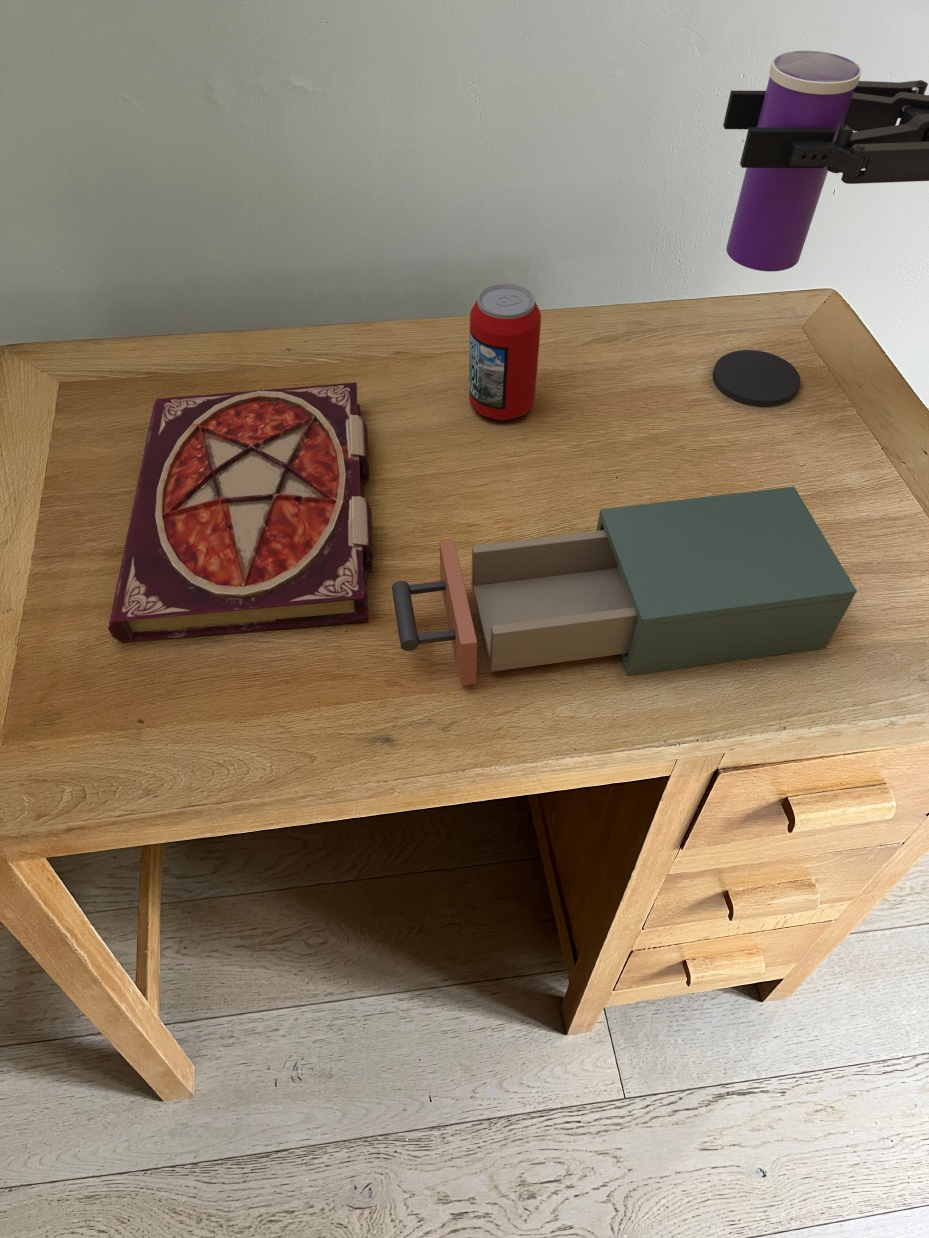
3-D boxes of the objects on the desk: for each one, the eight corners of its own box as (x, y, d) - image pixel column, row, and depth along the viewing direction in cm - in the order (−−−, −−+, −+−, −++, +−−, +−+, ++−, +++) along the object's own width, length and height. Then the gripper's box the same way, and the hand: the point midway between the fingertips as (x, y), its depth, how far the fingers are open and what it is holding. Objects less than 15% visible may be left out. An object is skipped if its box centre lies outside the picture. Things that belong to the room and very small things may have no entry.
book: (160, 425, 87) (145, 384, 83) (367, 408, 88) (362, 367, 84) (118, 647, 70) (96, 608, 66) (377, 623, 71) (371, 583, 67)
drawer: (406, 693, 65) (402, 652, 61) (390, 591, 72) (386, 547, 67) (655, 659, 67) (668, 616, 63) (618, 562, 74) (627, 518, 70)
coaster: (810, 374, 92) (813, 368, 92) (779, 417, 88) (781, 411, 87) (732, 346, 95) (734, 340, 95) (698, 387, 91) (700, 380, 90)
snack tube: (815, 264, 76) (880, 76, 65) (750, 278, 75) (804, 88, 63) (774, 229, 80) (827, 46, 69) (711, 241, 79) (755, 56, 67)
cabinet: (627, 675, 67) (642, 619, 62) (589, 567, 75) (600, 508, 69) (825, 648, 69) (857, 591, 64) (770, 545, 76) (794, 486, 71)
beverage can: (459, 393, 90) (458, 287, 80) (517, 379, 91) (524, 274, 82) (483, 432, 86) (486, 325, 77) (544, 416, 88) (555, 310, 78)
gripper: (1045, 235, 66) (748, 233, 66) (956, 128, 79) (705, 127, 78) (1102, 131, 60) (776, 129, 60) (996, 34, 73) (724, 32, 73)
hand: (736, 128), depth 69 cm, fingers closed on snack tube, 6 cm apart
